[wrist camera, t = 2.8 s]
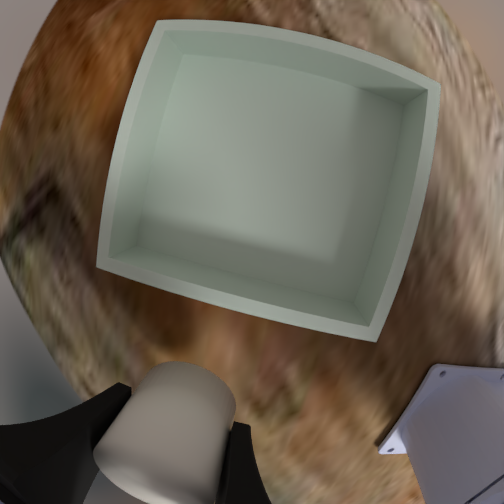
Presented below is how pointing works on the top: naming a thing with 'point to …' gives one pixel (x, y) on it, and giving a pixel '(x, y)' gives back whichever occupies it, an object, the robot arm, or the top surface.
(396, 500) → the top surface
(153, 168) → the bus tub
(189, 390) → the white rounded cylinder
